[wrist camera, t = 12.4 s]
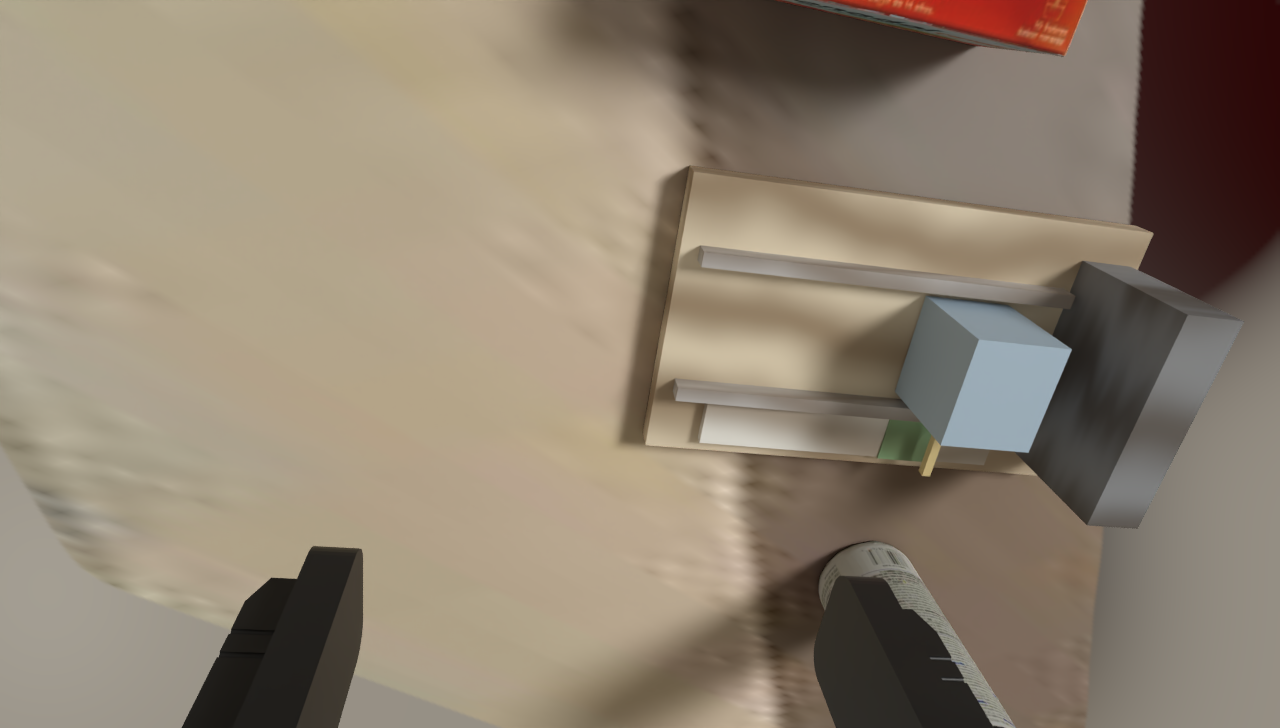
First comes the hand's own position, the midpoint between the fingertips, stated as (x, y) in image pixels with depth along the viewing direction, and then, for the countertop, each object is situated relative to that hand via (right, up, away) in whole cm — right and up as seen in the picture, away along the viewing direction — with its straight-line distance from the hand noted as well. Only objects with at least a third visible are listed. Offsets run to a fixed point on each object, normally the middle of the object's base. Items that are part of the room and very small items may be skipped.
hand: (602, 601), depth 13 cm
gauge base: (+15, +6, +32) cm, 36 cm away
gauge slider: (+19, +3, +32) cm, 38 cm away
